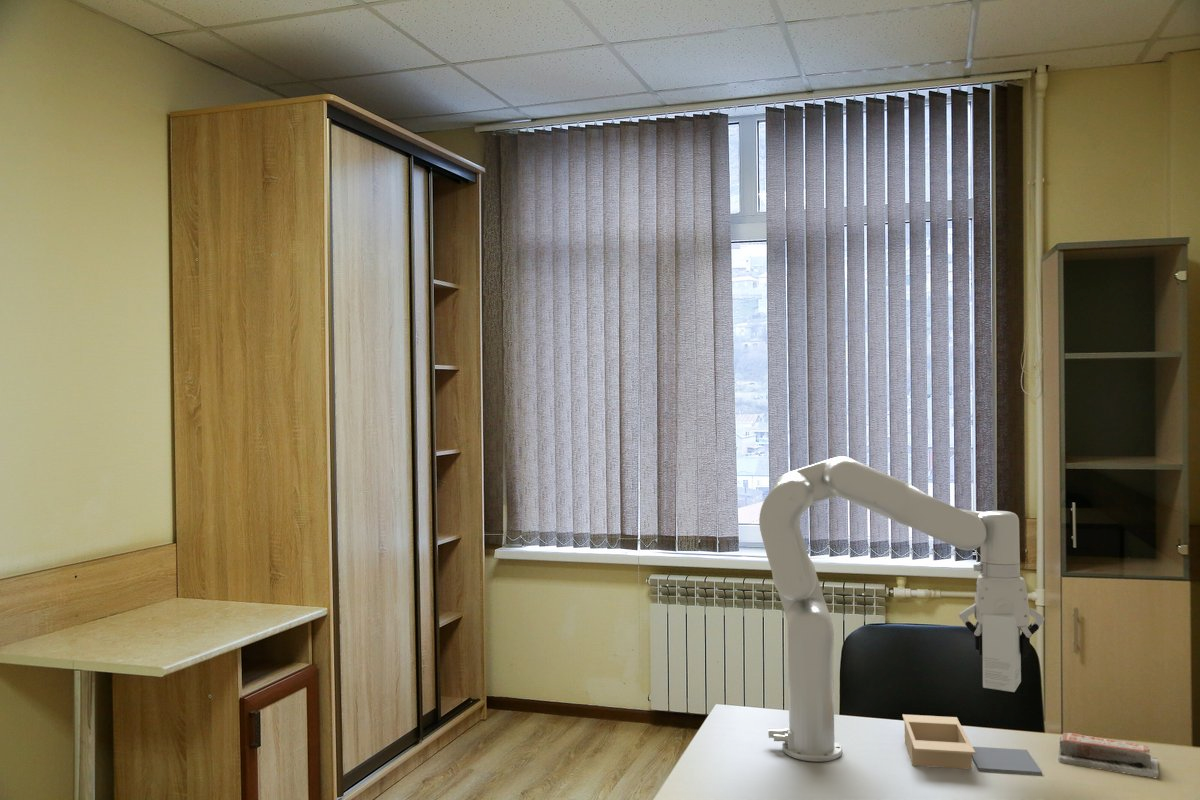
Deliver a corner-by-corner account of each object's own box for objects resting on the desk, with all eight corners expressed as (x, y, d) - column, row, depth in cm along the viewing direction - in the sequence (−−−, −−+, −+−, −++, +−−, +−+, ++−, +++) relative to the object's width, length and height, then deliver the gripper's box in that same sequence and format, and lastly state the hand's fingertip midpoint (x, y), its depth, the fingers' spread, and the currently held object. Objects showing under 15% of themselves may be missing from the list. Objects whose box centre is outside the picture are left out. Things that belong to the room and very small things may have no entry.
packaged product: (1057, 741, 189) (1060, 726, 198) (1057, 764, 189) (1060, 748, 198) (1158, 757, 180) (1157, 740, 189) (1159, 781, 180) (1157, 764, 189)
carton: (914, 773, 185) (914, 748, 185) (902, 736, 205) (902, 714, 205) (975, 777, 182) (975, 752, 182) (957, 739, 203) (956, 717, 203)
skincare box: (990, 677, 195) (988, 605, 195) (1023, 682, 192) (1021, 608, 192) (981, 688, 188) (980, 612, 189) (1016, 693, 185) (1014, 616, 185)
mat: (978, 770, 185) (978, 767, 185) (967, 748, 197) (967, 746, 197) (1042, 775, 183) (1042, 772, 183) (1026, 752, 195) (1026, 749, 195)
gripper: (959, 573, 188) (961, 657, 188) (1050, 574, 185) (1051, 661, 185) (953, 566, 196) (954, 648, 196) (1040, 568, 192) (1041, 651, 192)
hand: (1001, 653), depth 190 cm, fingers closed on skincare box, 8 cm apart
